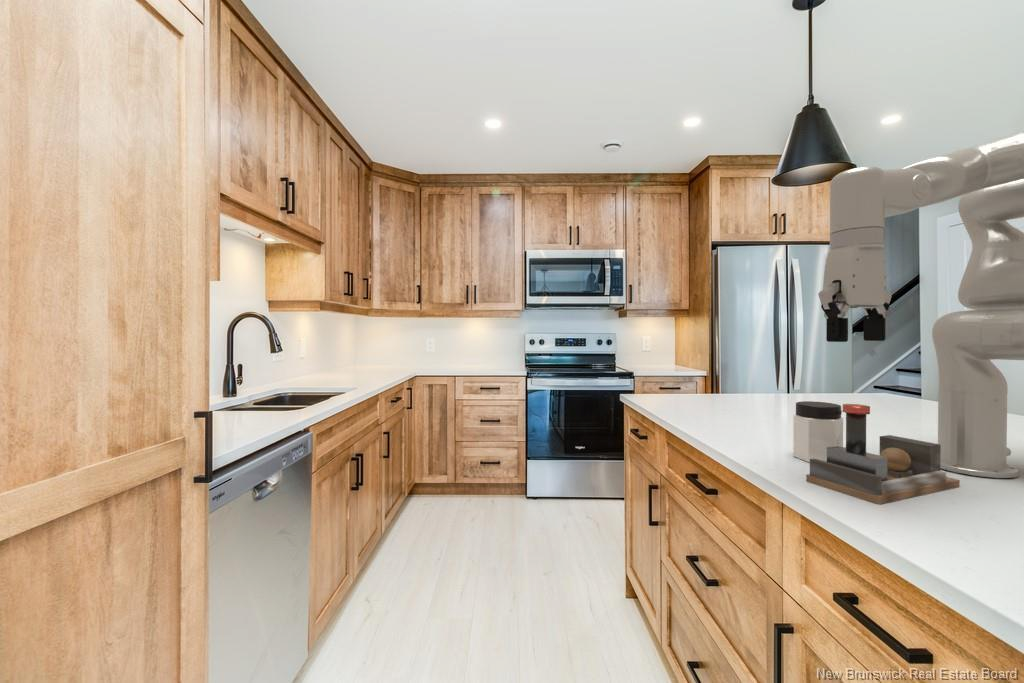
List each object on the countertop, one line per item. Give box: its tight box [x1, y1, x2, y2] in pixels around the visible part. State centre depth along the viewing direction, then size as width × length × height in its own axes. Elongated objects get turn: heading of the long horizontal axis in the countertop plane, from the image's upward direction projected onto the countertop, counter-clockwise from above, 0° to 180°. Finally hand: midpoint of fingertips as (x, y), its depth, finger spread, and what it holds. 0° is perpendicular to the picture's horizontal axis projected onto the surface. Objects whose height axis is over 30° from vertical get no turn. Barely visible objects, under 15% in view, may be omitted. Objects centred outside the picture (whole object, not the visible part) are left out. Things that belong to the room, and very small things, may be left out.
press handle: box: [827, 403, 887, 482], centre depth 77 cm, size 4×8×13 cm, turn 20°
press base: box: [805, 434, 961, 505], centre depth 80 cm, size 22×12×7 cm, turn 110°
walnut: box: [879, 447, 911, 472], centre depth 81 cm, size 4×4×4 cm
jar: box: [792, 400, 844, 463], centre depth 95 cm, size 9×8×12 cm
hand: (856, 341), depth 77 cm, fingers open, 9 cm apart
